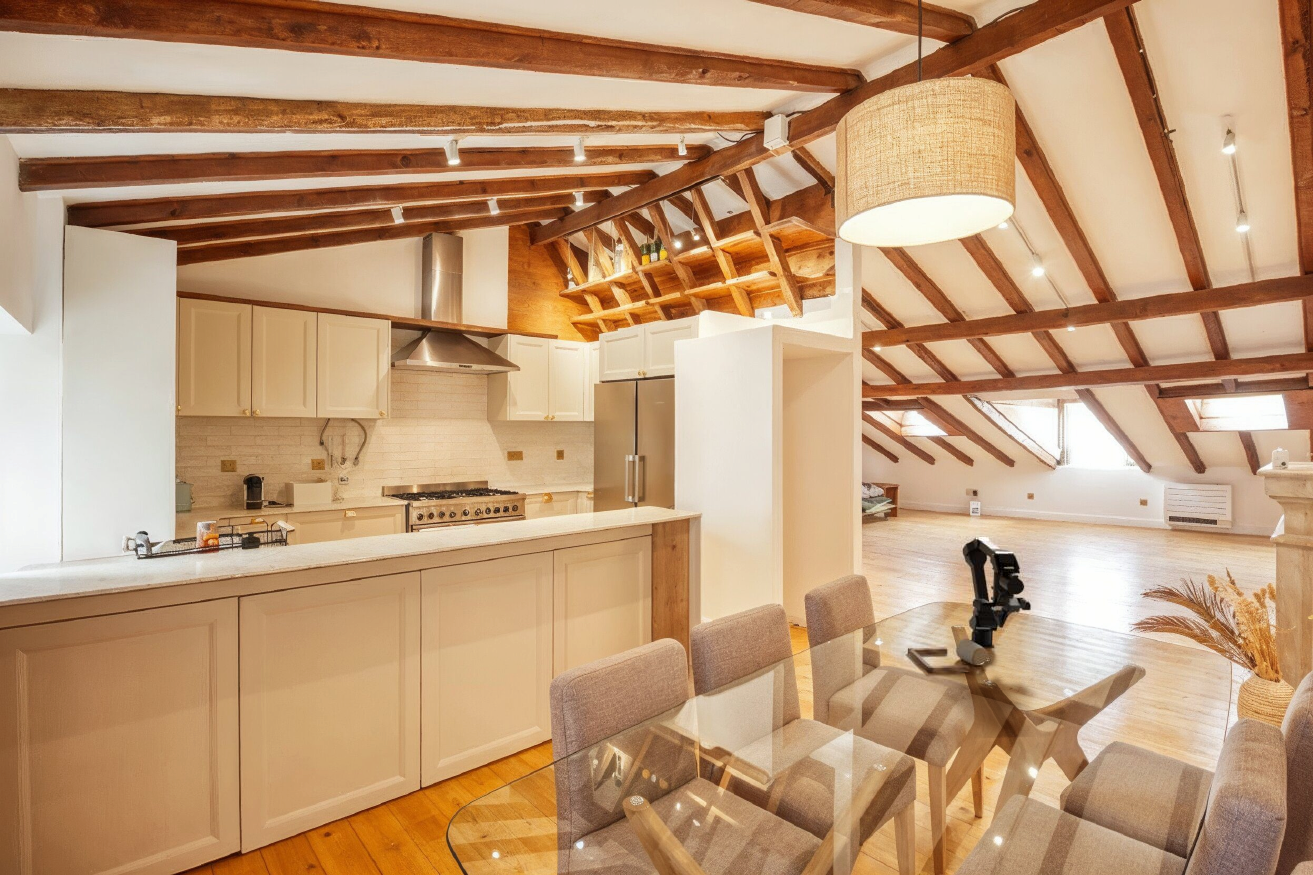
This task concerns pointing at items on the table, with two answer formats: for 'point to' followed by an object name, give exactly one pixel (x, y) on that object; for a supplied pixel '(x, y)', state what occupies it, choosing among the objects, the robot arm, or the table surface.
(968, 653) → the ceramic mug
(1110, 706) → the table surface
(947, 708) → the table surface
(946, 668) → the walnut corral
